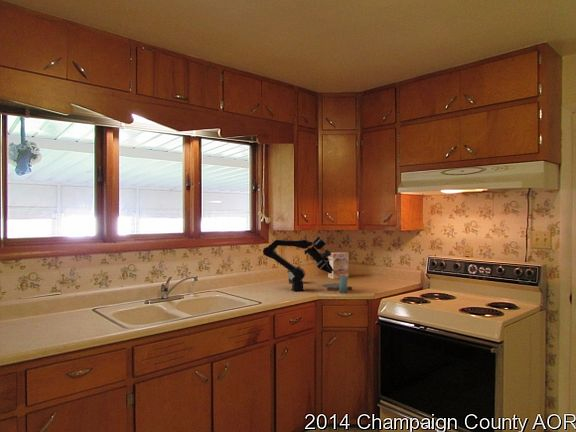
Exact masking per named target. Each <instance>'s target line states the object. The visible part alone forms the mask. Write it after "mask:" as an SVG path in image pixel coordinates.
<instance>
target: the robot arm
mask: <svg viewBox="0 0 576 432" xmlns="http://www.w3.org/2000/svg"><path fill="white" fill-rule="evenodd" d="M326 244H327V242H326V240H324V239H323V238H322V237H321V236H318V237H316V239H315V240H314V241H309V239H306V238H305V239H298V240H288V239H287V240H286V239H275V240H274V241H273V242H272V243H270V244H269V245H268V246H267V247H264V248H263V249H262V254H263V255H264V256H265V257H267V258H269V259H272V260H274V261H276V262H277V263H278V264H280V265H281V266H282V267H284V268H285V269H287V271H288V270H289V271H291V272H292V274H293V275H294V276H295V277H293V278H292V284H291V287H292V288H291V291H294V292H305V290H304V282H303V279H304V277H306V271H305V270H304V268H302V267H301V266H300V265H298V266H295V265H293V264H292V263H290V262H289V261H288V260H287V259H285V258H284V257H282V256H281V255H280V254H278V252H277V251H276V250H275V249H276V248H278V247H279V246H280V247H296V248H300V249H305V250H304V252H303V253H304V255H307V254H308V255H309V257H311V258H312V260H313V261H314V262H316V263H317V265H316V267H317V268H318V270H321V271H324V272H327V273H330V274H331V273H332V272H333V271H334V270H333V268H332V267H331V265H330V263H329V261H328V260H329V258H328V256H330V255H332V254H331V253H332V252H331V249H330V250H328V249H326V250H324V252H320V251H319V250H321V249H323V248H324V247H325V246H326ZM301 280H302V281H301Z"/></svg>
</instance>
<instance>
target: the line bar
mask: <svg viewBox="0 0 576 432" xmlns="http://www.w3.org/2000/svg"><path fill="white" fill-rule="evenodd" d="M326 291H328V292H330V291H331V292H332V291H334V292H335V291H339V287H326ZM347 291H353V287H352V286H348V285H347Z"/></svg>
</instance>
